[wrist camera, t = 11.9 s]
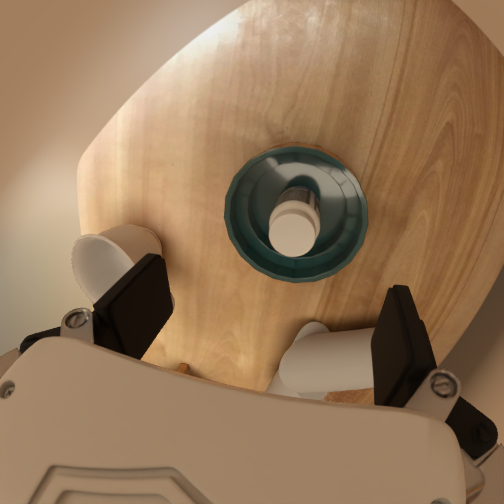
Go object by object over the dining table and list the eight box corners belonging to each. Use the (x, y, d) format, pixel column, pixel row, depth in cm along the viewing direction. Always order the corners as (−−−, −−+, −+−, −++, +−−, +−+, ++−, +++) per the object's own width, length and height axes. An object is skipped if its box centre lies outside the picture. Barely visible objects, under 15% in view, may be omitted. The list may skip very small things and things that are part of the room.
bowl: (243, 133, 29) (229, 137, 25) (373, 156, 27) (382, 164, 23) (233, 248, 36) (221, 267, 31) (345, 270, 34) (347, 293, 29)
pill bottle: (269, 208, 32) (252, 239, 24) (294, 176, 29) (285, 197, 22) (303, 233, 32) (296, 271, 25) (329, 203, 30) (331, 233, 23)
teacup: (181, 304, 42) (151, 348, 34) (107, 252, 42) (67, 284, 33) (214, 248, 36) (181, 291, 28) (125, 189, 36) (76, 215, 27)
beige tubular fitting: (298, 284, 34) (256, 375, 44) (311, 351, 25) (256, 430, 35) (407, 306, 37) (348, 383, 46) (435, 359, 27) (358, 431, 37)
